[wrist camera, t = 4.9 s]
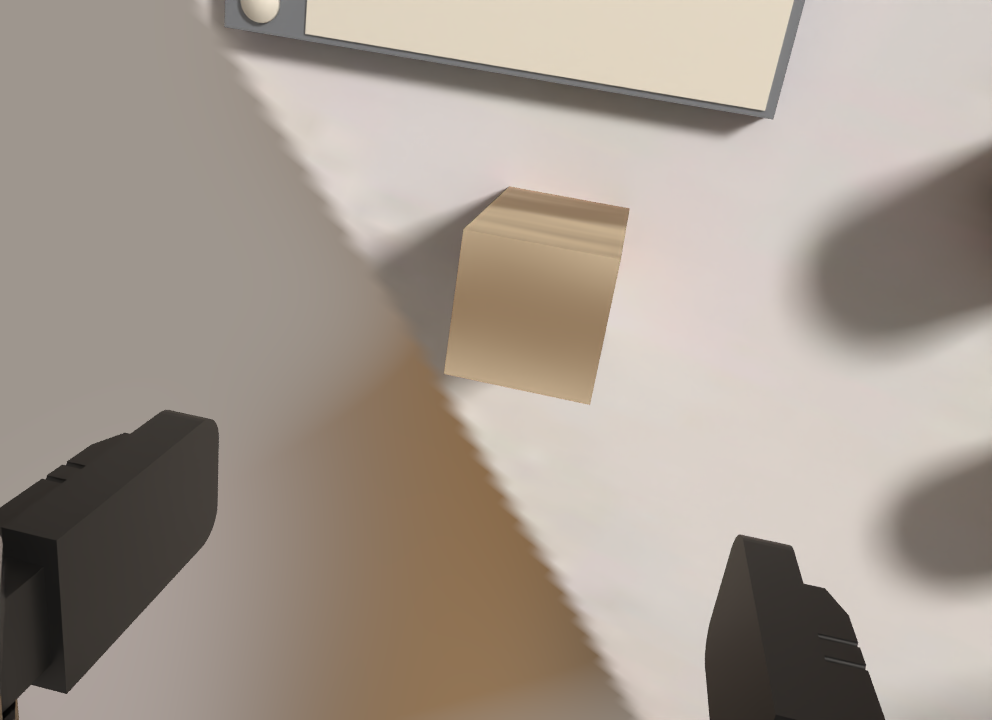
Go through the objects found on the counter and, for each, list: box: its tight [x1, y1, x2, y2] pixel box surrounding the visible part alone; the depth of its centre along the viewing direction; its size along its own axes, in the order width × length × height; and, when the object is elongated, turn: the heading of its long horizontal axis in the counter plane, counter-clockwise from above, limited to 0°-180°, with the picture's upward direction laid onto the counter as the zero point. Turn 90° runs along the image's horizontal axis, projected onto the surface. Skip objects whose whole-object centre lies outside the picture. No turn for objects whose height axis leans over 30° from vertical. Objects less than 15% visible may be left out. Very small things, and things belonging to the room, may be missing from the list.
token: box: [444, 187, 629, 405], centre depth 24 cm, size 4×4×7 cm
